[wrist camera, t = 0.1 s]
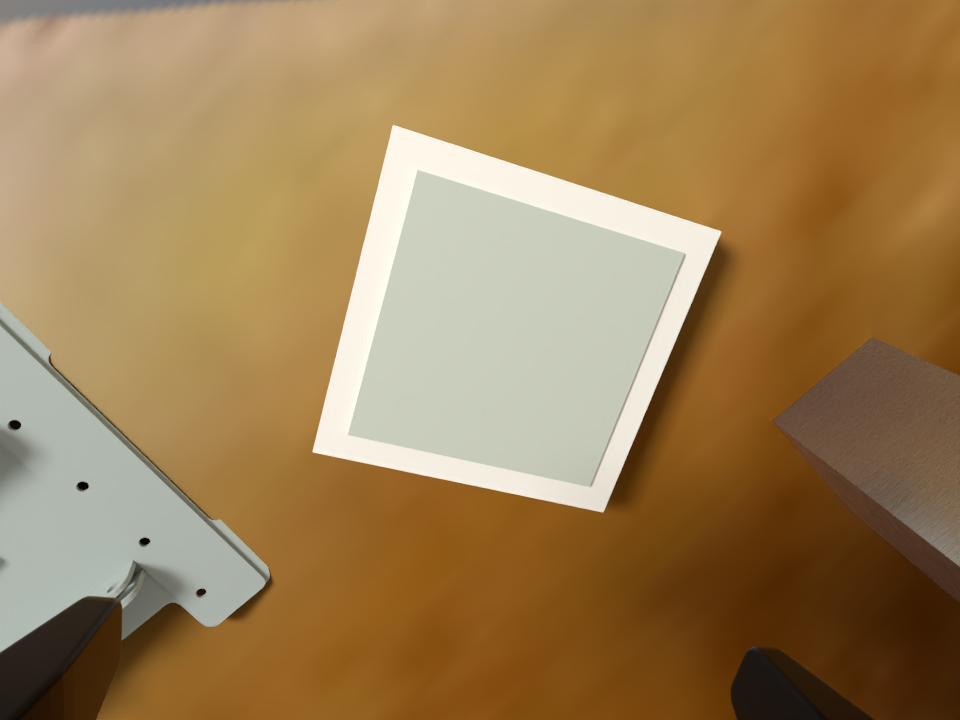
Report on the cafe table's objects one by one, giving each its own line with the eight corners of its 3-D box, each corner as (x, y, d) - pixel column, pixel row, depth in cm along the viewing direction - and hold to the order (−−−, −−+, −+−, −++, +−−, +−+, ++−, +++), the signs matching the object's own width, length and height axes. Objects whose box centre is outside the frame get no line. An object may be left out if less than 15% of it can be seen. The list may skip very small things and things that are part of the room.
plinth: (588, 484, 25) (604, 514, 23) (319, 426, 23) (312, 454, 21) (694, 223, 22) (723, 232, 20) (394, 125, 20) (393, 125, 18)
